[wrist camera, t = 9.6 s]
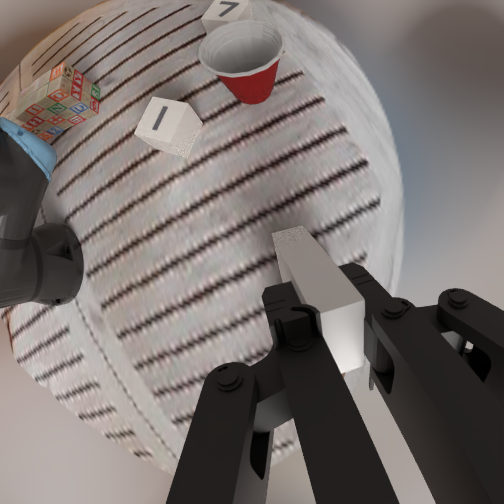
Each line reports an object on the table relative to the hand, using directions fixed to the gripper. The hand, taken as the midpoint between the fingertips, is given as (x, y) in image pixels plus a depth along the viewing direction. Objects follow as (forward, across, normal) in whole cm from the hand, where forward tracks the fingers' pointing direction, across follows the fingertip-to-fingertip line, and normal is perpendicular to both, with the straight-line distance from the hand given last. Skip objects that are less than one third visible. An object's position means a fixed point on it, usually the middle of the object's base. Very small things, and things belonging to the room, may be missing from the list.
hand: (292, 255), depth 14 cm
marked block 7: (+39, +5, +25) cm, 47 cm away
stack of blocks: (+43, -33, +21) cm, 58 cm away
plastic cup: (+34, +5, +13) cm, 36 cm away
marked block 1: (+33, -8, +8) cm, 35 cm away
